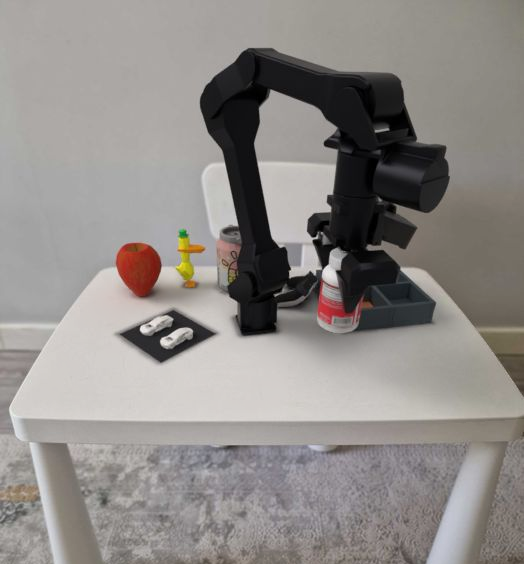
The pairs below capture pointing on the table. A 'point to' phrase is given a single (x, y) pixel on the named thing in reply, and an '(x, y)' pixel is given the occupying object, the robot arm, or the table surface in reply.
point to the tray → (392, 304)
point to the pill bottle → (335, 300)
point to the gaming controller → (297, 290)
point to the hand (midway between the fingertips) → (340, 301)
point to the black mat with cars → (167, 335)
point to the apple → (138, 267)
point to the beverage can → (228, 255)
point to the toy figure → (187, 257)
